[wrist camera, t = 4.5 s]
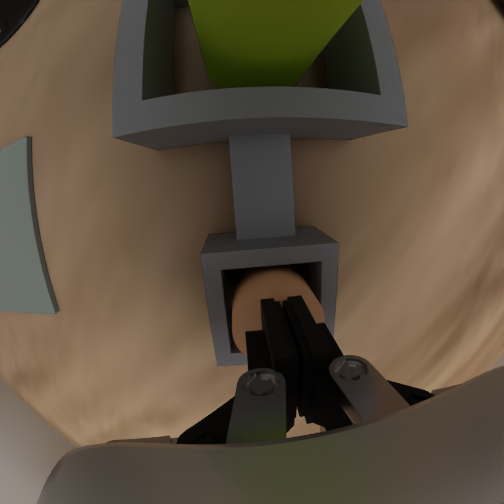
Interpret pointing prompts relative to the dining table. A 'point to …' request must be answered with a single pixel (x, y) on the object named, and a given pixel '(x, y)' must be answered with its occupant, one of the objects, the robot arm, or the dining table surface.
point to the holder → (257, 141)
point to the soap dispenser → (265, 38)
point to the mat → (21, 237)
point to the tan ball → (267, 297)
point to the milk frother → (13, 16)
